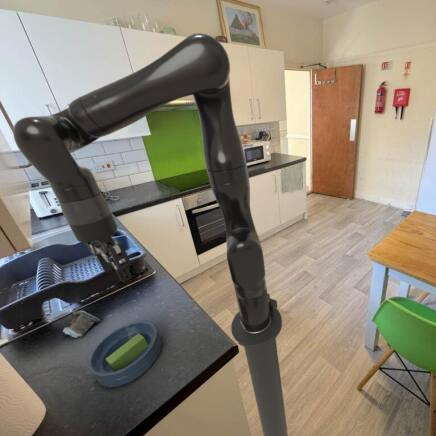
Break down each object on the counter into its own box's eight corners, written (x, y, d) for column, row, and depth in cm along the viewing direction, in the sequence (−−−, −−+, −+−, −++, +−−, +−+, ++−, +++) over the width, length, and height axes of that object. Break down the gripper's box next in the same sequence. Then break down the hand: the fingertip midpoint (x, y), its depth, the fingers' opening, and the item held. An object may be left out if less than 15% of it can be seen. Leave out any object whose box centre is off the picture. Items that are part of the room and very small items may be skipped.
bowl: (143, 325, 79) (137, 314, 76) (173, 347, 71) (168, 335, 69) (86, 369, 66) (77, 356, 64) (115, 401, 59) (106, 388, 56)
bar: (142, 341, 73) (138, 333, 71) (148, 346, 71) (144, 337, 69) (111, 367, 66) (105, 358, 64) (116, 373, 64) (110, 364, 63)
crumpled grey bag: (54, 333, 79) (50, 326, 71) (73, 312, 83) (71, 304, 75) (84, 344, 81) (83, 340, 73) (100, 324, 86) (101, 318, 78)
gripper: (125, 214, 51) (149, 274, 58) (94, 204, 58) (119, 258, 65) (84, 230, 45) (116, 294, 52) (55, 216, 52) (87, 275, 59)
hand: (118, 274), depth 59 cm, fingers open, 8 cm apart
